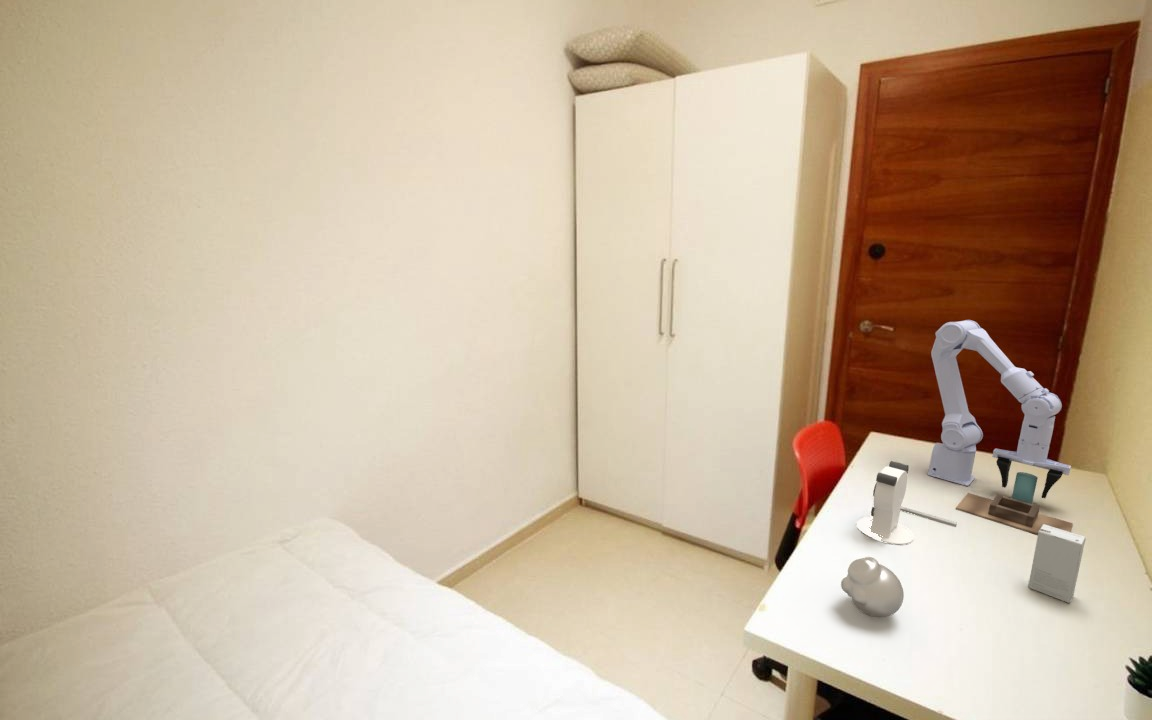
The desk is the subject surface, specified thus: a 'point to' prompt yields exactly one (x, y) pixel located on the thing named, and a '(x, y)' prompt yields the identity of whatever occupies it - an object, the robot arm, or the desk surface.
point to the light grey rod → (929, 516)
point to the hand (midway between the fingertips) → (1023, 491)
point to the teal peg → (1024, 487)
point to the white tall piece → (890, 504)
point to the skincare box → (1056, 562)
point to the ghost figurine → (873, 588)
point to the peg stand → (1010, 513)
